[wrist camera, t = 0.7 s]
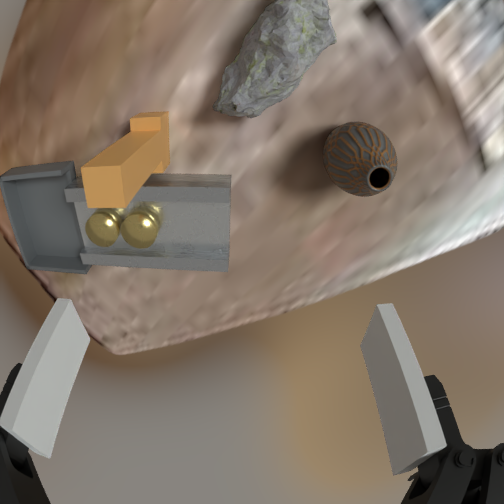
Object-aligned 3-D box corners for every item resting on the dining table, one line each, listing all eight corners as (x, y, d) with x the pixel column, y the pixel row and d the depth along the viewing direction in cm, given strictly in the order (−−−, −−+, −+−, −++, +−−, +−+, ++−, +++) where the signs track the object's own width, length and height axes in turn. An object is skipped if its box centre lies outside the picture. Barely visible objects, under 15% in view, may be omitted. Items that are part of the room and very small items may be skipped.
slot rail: (78, 176, 31) (63, 188, 28) (231, 174, 31) (229, 187, 29) (93, 248, 36) (82, 264, 34) (229, 253, 37) (227, 271, 34)
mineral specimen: (273, 133, 29) (279, 151, 24) (209, 100, 27) (198, 110, 22) (353, 13, 21) (378, 2, 16) (288, -25, 19) (298, -47, 14)
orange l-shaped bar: (140, 112, 27) (78, 149, 17) (168, 111, 27) (118, 145, 17) (143, 163, 30) (91, 224, 20) (169, 163, 31) (128, 224, 20)
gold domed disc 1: (89, 207, 31) (81, 215, 29) (120, 206, 31) (113, 215, 29) (95, 237, 33) (89, 246, 32) (125, 237, 33) (119, 247, 32)
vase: (360, 104, 27) (398, 122, 20) (388, 158, 30) (426, 192, 23) (304, 137, 29) (323, 164, 22) (336, 189, 32) (361, 230, 25)
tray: (11, 168, 29) (-2, 177, 27) (73, 160, 30) (60, 170, 27) (36, 256, 37) (27, 268, 35) (94, 260, 38) (86, 274, 35)
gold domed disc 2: (124, 206, 31) (117, 215, 29) (158, 207, 31) (153, 216, 30) (129, 238, 33) (123, 247, 32) (162, 239, 34) (158, 249, 32)
